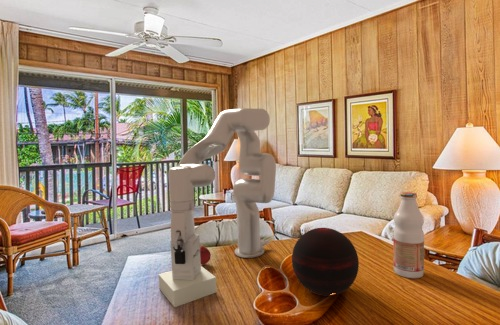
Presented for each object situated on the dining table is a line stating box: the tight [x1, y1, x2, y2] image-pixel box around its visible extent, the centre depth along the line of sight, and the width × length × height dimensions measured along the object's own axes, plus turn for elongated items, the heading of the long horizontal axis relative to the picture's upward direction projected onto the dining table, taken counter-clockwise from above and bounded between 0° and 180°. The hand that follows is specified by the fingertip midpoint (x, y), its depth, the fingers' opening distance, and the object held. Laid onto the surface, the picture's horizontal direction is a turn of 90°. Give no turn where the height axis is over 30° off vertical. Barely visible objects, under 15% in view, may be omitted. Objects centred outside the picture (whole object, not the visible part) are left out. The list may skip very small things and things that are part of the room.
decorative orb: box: [291, 227, 360, 297], centre depth 94 cm, size 20×20×20 cm
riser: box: [158, 265, 218, 308], centre depth 99 cm, size 14×14×5 cm
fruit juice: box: [392, 191, 425, 279], centre depth 104 cm, size 9×9×28 cm
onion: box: [200, 244, 212, 266], centre depth 119 cm, size 6×6×8 cm
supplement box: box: [170, 233, 202, 280], centre depth 99 cm, size 7×7×13 cm
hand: (185, 257), depth 98 cm, fingers open, 9 cm apart
